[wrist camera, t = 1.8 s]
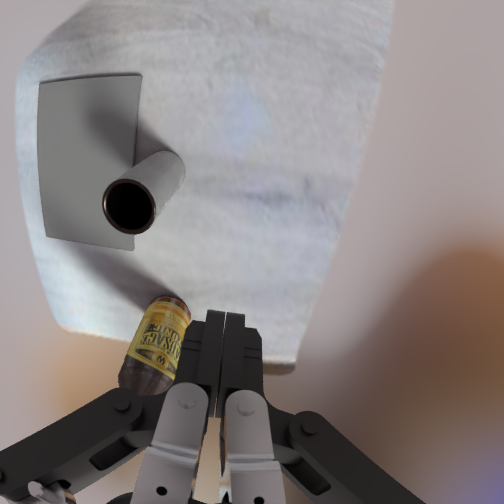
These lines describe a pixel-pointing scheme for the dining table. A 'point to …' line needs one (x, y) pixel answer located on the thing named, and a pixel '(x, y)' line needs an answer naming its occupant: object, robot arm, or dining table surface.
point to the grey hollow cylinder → (142, 192)
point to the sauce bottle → (155, 348)
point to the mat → (85, 154)
